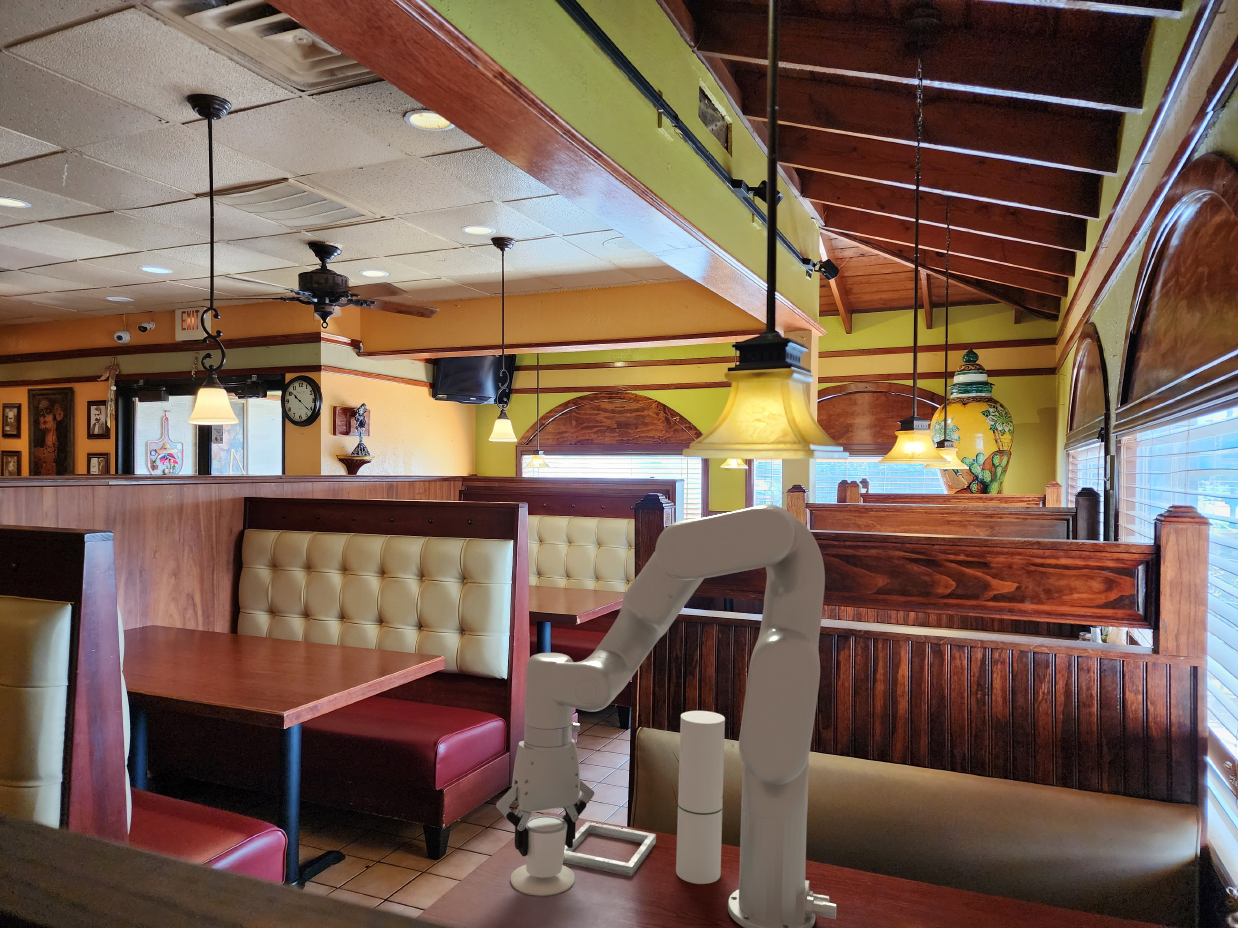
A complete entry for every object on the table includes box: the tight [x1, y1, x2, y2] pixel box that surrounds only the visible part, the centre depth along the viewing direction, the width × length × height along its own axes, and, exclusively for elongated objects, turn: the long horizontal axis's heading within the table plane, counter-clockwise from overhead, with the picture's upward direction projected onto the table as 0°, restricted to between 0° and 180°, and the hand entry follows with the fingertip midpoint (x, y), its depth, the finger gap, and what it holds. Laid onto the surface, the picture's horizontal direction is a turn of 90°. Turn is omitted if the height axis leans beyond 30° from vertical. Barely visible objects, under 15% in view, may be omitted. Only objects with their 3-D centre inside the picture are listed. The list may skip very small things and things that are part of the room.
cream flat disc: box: [510, 864, 576, 897], centre depth 126 cm, size 10×10×1 cm
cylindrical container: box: [675, 710, 726, 885], centre depth 130 cm, size 7×7×25 cm
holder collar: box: [563, 821, 657, 877], centre depth 136 cm, size 13×13×2 cm
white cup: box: [525, 815, 567, 878], centre depth 126 cm, size 7×7×7 cm
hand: (544, 847), depth 126 cm, fingers closed on white cup, 6 cm apart
